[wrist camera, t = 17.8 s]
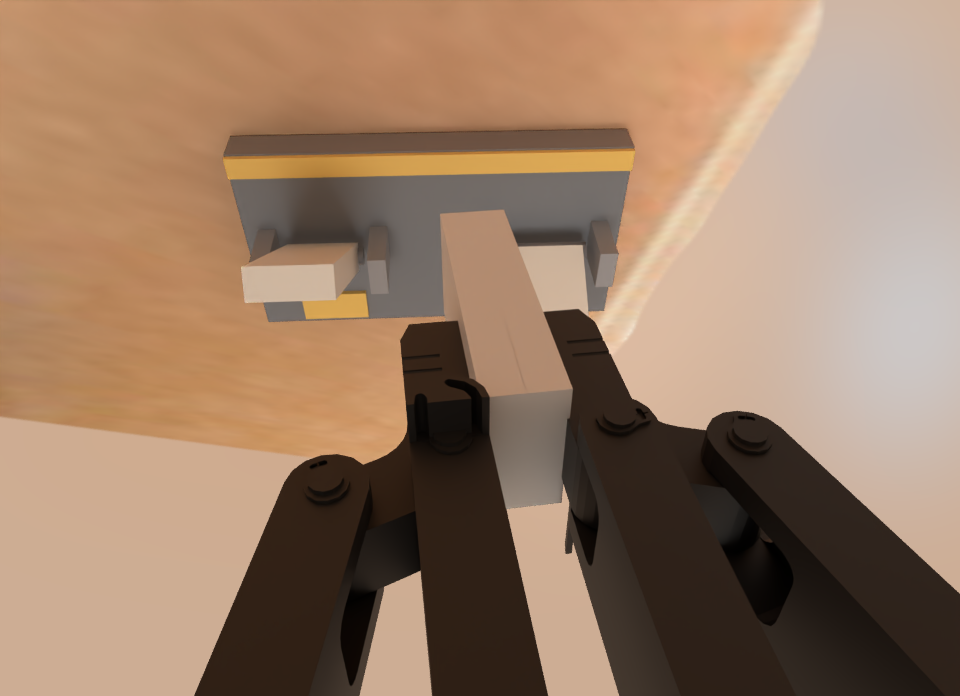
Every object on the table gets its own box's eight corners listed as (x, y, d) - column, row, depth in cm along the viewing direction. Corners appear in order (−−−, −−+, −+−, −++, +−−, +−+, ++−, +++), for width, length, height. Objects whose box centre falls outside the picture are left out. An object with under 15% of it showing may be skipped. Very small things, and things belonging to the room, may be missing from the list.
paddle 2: (505, 249, 42) (516, 423, 40) (508, 238, 40) (519, 419, 38) (581, 247, 42) (597, 420, 40) (587, 236, 41) (603, 415, 38)
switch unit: (272, 301, 47) (261, 357, 43) (230, 136, 38) (210, 188, 35) (598, 291, 48) (613, 344, 44) (626, 128, 40) (648, 177, 36)
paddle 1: (286, 271, 41) (237, 303, 31) (284, 243, 41) (233, 266, 31) (365, 268, 41) (342, 299, 31) (363, 241, 41) (340, 263, 31)
